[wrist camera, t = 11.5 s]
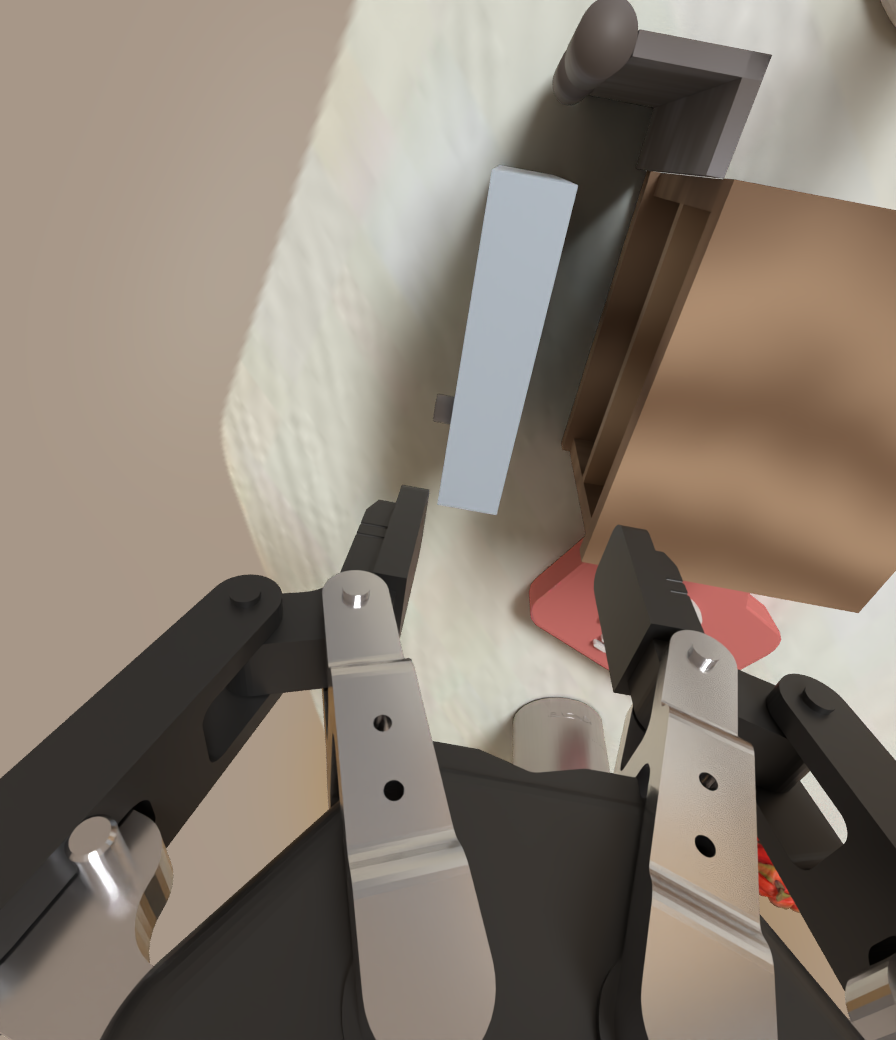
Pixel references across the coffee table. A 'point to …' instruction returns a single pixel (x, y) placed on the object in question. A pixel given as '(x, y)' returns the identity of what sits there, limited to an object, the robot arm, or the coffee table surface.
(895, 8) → the candlestick
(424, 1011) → the robot arm
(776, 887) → the dragon fruit
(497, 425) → the door
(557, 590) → the plaque
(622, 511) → the cabinet
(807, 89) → the coffee table surface
